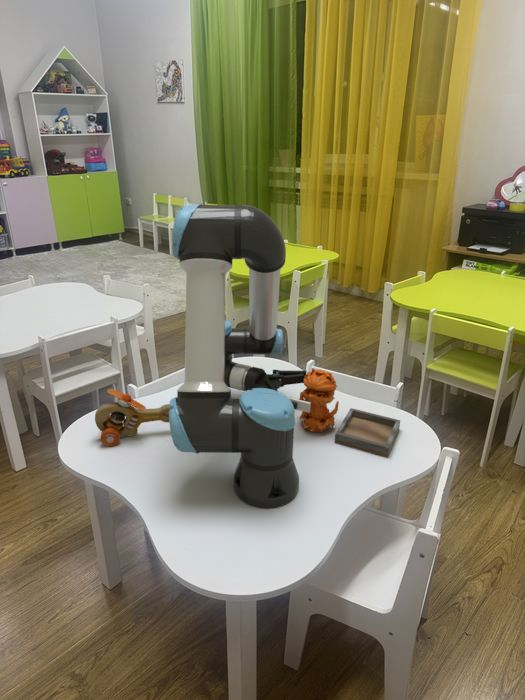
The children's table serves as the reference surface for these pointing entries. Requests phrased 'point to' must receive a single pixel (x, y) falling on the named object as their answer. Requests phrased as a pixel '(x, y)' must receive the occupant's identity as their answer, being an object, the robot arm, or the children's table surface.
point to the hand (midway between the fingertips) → (318, 395)
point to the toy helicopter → (119, 424)
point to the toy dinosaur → (318, 400)
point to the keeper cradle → (368, 432)
